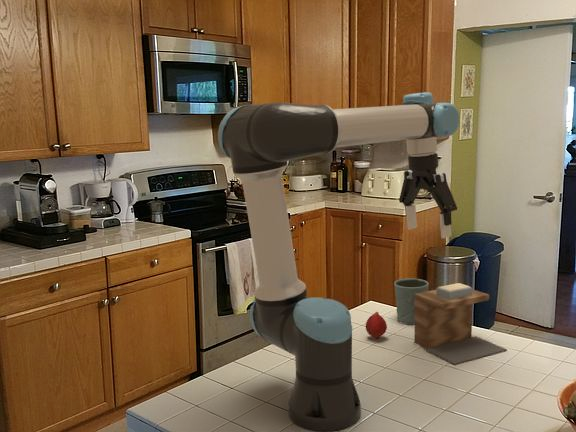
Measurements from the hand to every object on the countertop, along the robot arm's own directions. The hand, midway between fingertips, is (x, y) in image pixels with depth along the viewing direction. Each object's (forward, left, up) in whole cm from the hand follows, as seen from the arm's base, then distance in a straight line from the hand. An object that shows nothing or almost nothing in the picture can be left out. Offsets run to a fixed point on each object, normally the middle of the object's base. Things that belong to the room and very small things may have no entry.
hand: (428, 232), depth 152 cm
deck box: (+5, -5, -17) cm, 18 cm away
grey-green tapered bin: (+7, +16, -31) cm, 36 cm away
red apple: (-11, +9, -31) cm, 34 cm away
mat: (+5, -10, -31) cm, 32 cm away
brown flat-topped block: (+5, -4, -31) cm, 31 cm away
